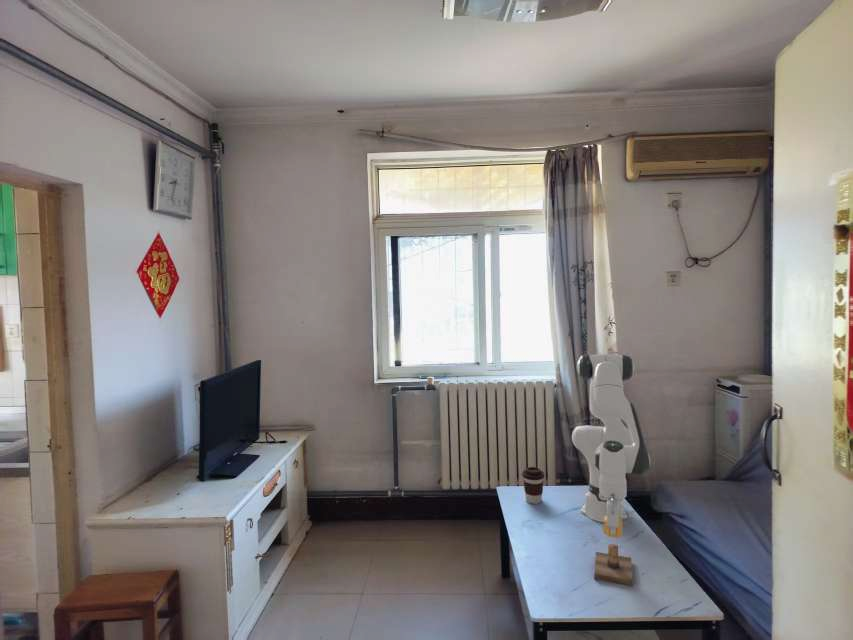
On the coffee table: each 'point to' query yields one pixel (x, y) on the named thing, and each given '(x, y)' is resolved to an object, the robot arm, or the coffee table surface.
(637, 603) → the coffee table surface
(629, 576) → the wooden peg stand
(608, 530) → the domed octagonal prism
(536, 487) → the coffee cup
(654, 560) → the coffee table surface
